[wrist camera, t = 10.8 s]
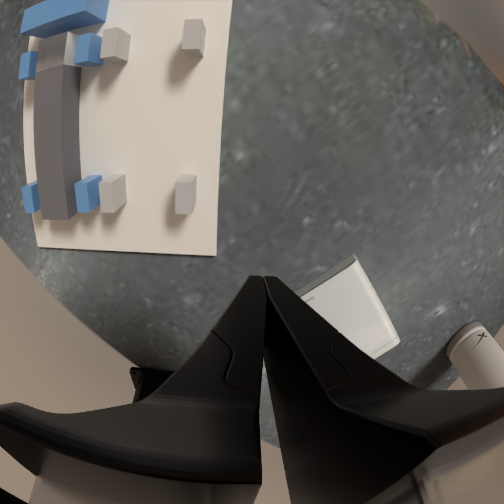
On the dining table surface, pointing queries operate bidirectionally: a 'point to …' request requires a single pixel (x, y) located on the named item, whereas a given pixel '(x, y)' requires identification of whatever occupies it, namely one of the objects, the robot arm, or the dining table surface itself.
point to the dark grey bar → (57, 126)
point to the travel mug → (477, 357)
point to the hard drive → (352, 307)
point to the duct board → (137, 122)
